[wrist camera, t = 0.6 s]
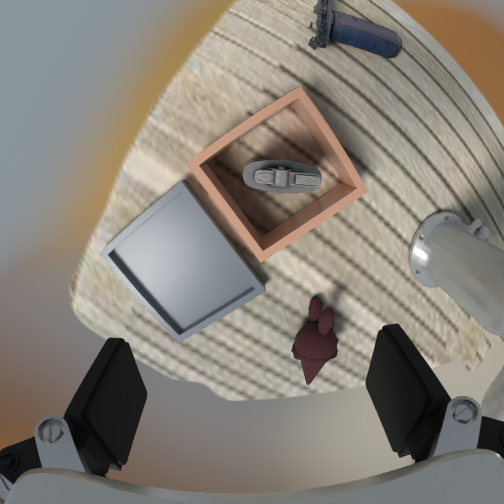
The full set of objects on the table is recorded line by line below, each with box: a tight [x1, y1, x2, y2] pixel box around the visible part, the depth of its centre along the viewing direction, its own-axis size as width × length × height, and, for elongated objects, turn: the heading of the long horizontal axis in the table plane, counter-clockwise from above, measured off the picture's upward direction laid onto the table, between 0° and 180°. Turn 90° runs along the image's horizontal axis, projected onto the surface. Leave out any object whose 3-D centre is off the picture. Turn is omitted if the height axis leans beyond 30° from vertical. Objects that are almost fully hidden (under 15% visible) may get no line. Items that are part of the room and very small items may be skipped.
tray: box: [100, 180, 266, 342], centre depth 38 cm, size 16×18×2 cm
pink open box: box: [186, 86, 368, 262], centre depth 32 cm, size 15×14×6 cm
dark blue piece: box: [309, 0, 402, 58], centre depth 26 cm, size 9×8×12 cm
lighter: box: [243, 158, 322, 193], centre depth 30 cm, size 8×3×10 cm, turn 87°
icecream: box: [291, 297, 338, 385], centre depth 41 cm, size 7×7×15 cm
